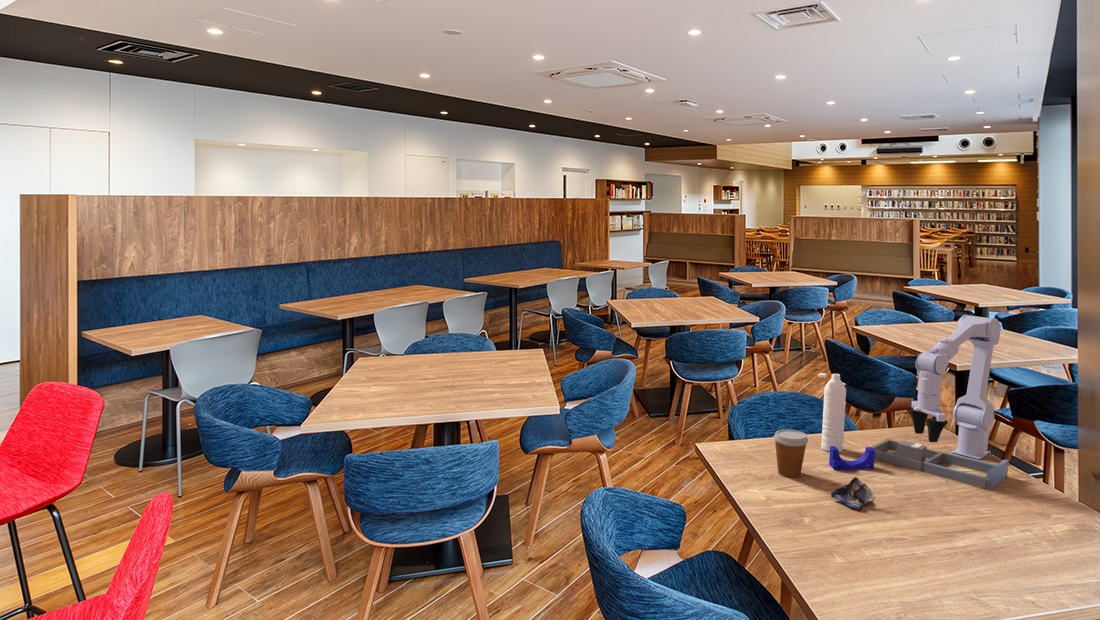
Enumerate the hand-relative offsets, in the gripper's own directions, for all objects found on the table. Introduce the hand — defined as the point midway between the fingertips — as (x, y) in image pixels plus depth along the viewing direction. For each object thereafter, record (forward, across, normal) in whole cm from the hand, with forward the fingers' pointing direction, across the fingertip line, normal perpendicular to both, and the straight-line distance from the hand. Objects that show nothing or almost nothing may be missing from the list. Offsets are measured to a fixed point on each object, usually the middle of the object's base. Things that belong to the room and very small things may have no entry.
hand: (925, 437), depth 199 cm
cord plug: (+10, -8, -1) cm, 13 cm away
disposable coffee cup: (+10, +3, -41) cm, 42 cm away
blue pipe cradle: (+10, -1, -21) cm, 23 cm away
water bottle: (+10, -17, -21) cm, 29 cm away
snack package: (+10, +22, -30) cm, 39 cm away
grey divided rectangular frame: (+10, -2, +4) cm, 11 cm away
